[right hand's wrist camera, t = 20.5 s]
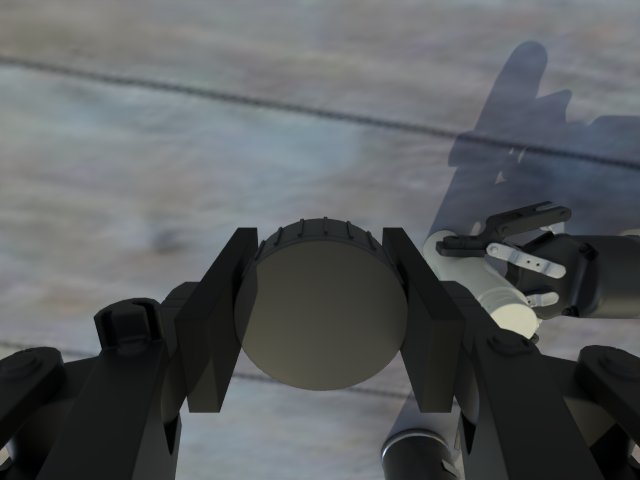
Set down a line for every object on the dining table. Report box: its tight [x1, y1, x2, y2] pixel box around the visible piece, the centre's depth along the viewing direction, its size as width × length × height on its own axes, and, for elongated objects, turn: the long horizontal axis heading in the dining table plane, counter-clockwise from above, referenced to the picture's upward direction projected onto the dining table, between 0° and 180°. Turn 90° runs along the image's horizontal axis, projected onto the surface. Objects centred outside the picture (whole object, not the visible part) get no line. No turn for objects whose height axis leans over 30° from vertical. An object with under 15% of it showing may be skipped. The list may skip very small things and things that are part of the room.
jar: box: [423, 230, 537, 339], centre depth 31 cm, size 4×4×15 cm
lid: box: [233, 217, 408, 391], centre depth 11 cm, size 5×5×2 cm
